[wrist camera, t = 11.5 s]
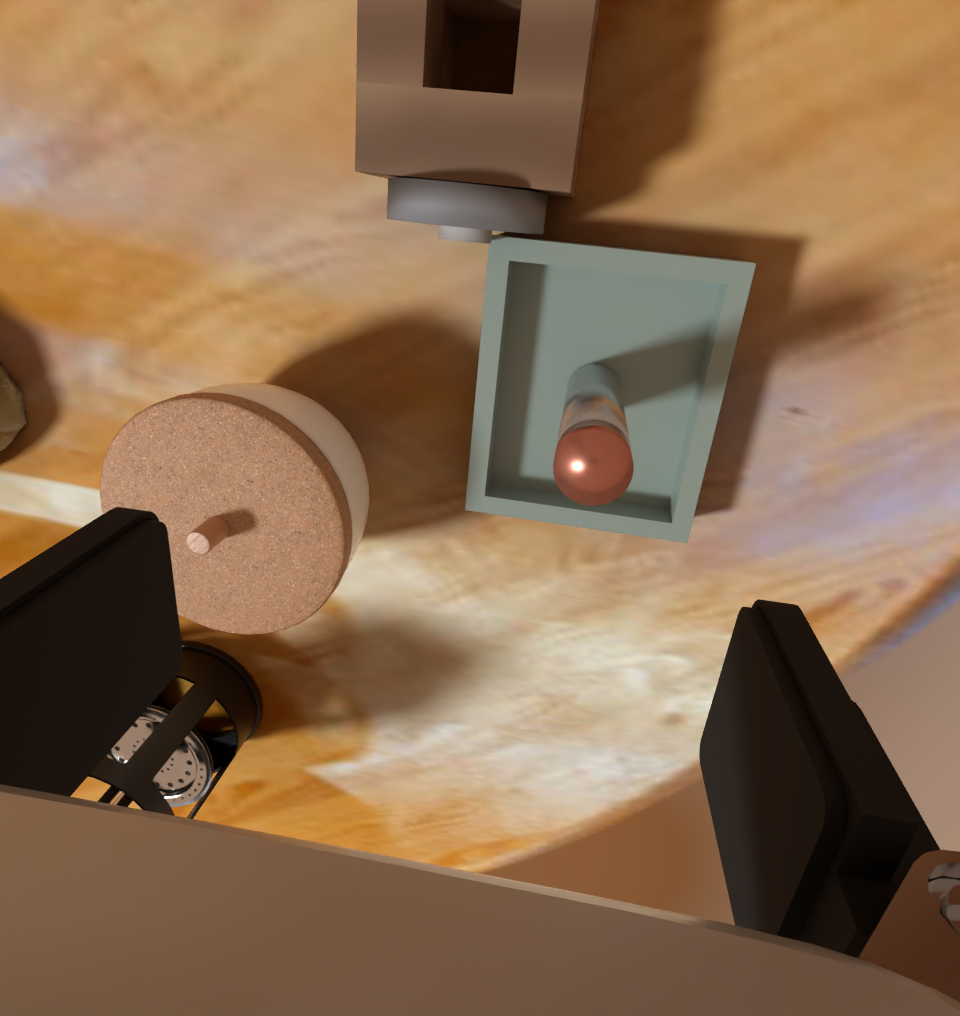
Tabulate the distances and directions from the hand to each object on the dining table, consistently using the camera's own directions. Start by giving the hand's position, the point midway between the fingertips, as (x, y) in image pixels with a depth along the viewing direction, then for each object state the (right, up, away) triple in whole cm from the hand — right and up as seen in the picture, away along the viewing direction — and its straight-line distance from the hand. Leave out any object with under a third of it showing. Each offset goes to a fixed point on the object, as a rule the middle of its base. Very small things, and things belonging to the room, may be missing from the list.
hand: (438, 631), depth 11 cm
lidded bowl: (-10, +5, +30) cm, 32 cm away
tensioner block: (+1, +21, +20) cm, 29 cm away
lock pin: (+7, +8, +24) cm, 26 cm away
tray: (+7, +9, +25) cm, 27 cm away
